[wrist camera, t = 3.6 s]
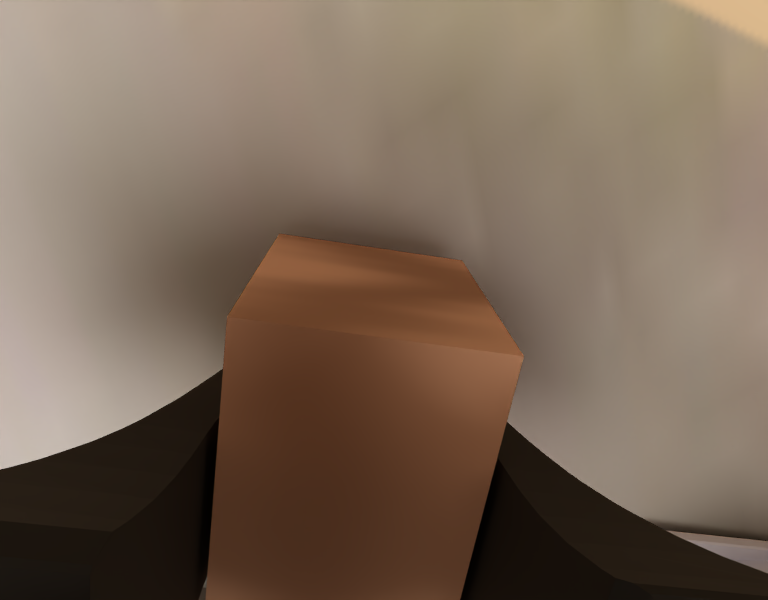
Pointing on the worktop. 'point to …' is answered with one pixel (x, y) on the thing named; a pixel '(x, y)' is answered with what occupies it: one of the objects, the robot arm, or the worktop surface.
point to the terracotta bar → (356, 426)
